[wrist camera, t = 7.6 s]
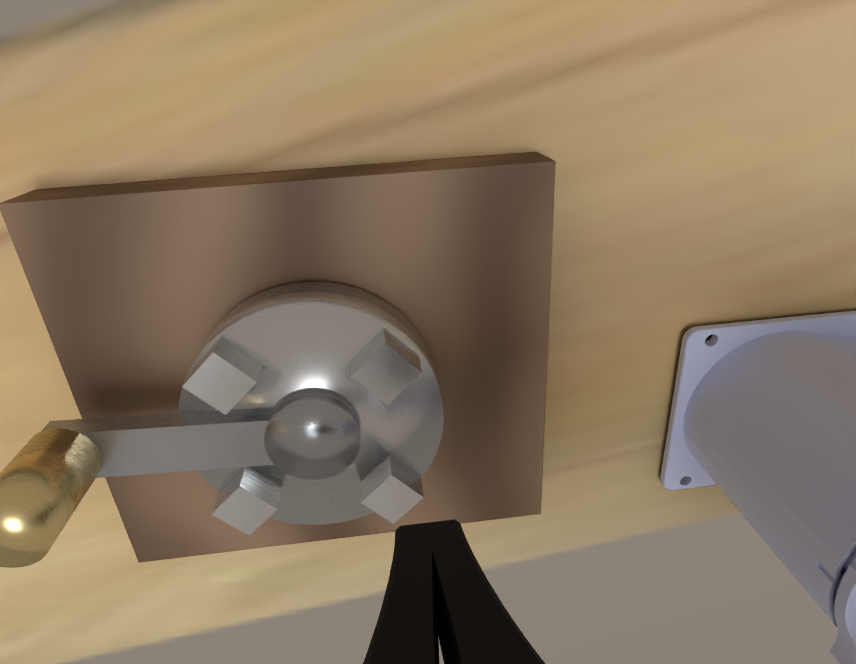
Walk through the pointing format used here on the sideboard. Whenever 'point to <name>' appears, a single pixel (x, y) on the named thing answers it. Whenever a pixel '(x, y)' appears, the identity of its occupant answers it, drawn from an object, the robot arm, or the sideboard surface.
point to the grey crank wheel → (258, 423)
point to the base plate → (294, 263)
